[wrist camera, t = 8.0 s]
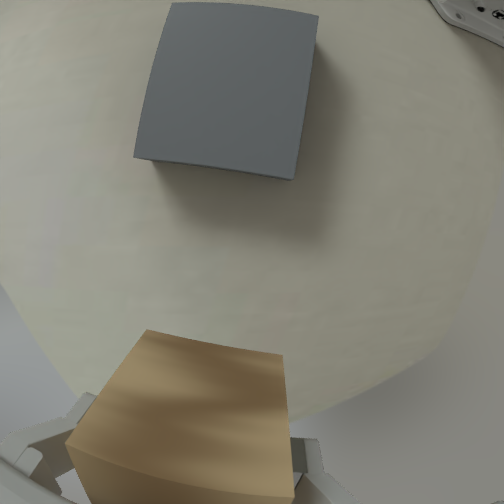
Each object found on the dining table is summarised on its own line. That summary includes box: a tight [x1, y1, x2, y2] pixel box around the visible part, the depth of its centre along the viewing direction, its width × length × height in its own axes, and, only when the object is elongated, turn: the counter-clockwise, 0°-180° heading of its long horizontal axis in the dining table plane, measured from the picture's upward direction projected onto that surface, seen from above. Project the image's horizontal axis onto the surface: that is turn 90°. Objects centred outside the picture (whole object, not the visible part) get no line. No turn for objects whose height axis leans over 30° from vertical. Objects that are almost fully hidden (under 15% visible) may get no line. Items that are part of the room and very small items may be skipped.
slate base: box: [133, 2, 319, 181], centre depth 21 cm, size 12×14×4 cm
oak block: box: [65, 330, 295, 504], centre depth 8 cm, size 5×5×6 cm
